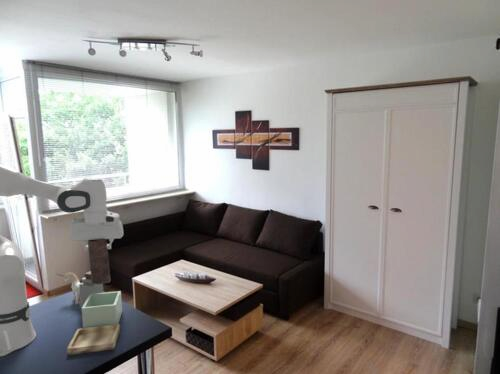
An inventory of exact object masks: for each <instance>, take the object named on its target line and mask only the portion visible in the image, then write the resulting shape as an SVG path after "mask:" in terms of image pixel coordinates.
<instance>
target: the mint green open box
mask: <svg viewBox="0 0 500 374" xmlns="http://www.w3.org/2000/svg"><path fill="white" fill-rule="evenodd" d="M122 314H123V303H122V291H121V290H118V291H108V292H107V291H106V292H103V293H94V294H89V296H88V298H87V300H86V302H85V303H84V305H83V307H82V309H81V319H82V328H90V327H99V326H108V325H117V324H120V320H121V316H122Z"/></svg>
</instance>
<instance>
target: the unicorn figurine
mask: <svg viewBox="0 0 500 374" xmlns="http://www.w3.org/2000/svg"><path fill="white" fill-rule="evenodd" d="M56 275H57V276H61V277H64V282H63V283H64V284H68V283H69V281H70V280H71V281H72V283H71V289H72V294H73V297H72V301H73V302H75V303H74V305H75V306H78V305H79V304H80V305H81V298H80V286H79V284H81V283H82V282H80V281H81V280H80V279H79V276H77V275H76V274H75V273H74V272H66V273H65V274H61V273H56Z"/></svg>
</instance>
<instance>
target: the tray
mask: <svg viewBox="0 0 500 374" xmlns="http://www.w3.org/2000/svg"><path fill="white" fill-rule="evenodd" d="M120 332H121V324H120V323H118V324H117V325H108V326H99V327H90V328H83V327H82V328H77V329H76V331H75V333H74V335H73V336H72V339H71V340H70V342H69V344H68V346H67V349H66V353H67V356H69V355H71V356H72V355H77V354H78V355H79V354H87V353H94V352H95V353H96V352H103V351H111V350H115V349H116V344H117V342H118V337H119V334H120Z"/></svg>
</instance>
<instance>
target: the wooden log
mask: <svg viewBox="0 0 500 374" xmlns="http://www.w3.org/2000/svg"><path fill="white" fill-rule="evenodd" d="M107 244H108V239H105V238H104V239H98V240H87V245H88V247H89V250H88V256H89V257H88V258H89V267H90V271H91V280H92V283H93V284H103V285H104V284H107V283H110V282H111V281H112V279H111V269H110V260H109V251H108V250H109V249H107Z"/></svg>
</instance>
